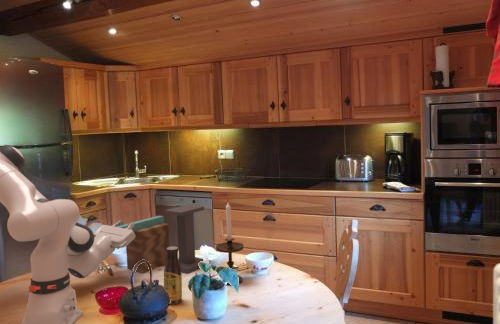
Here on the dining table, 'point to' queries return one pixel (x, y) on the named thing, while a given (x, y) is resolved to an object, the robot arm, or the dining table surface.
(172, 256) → the sauce bottle
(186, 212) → the dark grey pedestal stand
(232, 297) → the dining table surface
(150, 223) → the teal rod
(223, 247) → the candlestick
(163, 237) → the walnut block
